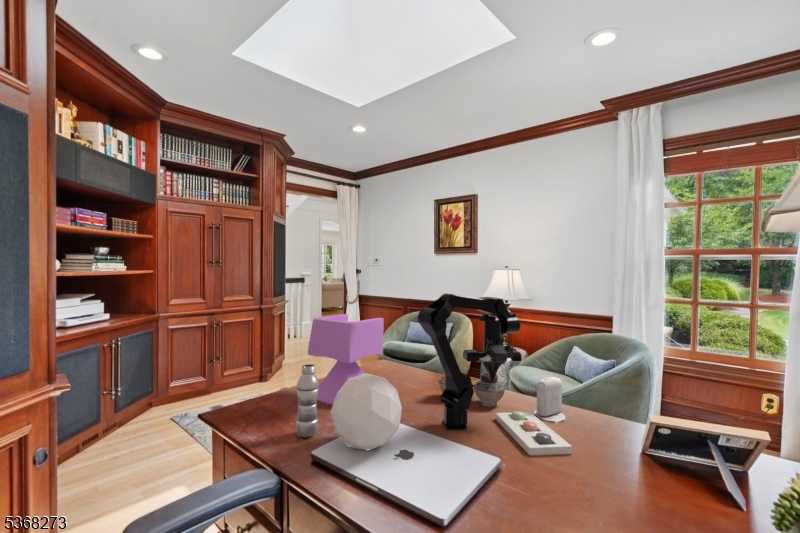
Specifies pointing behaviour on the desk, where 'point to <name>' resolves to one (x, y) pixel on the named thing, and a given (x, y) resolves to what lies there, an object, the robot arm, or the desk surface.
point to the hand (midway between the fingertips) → (491, 381)
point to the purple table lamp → (343, 348)
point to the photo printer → (549, 396)
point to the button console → (533, 435)
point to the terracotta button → (529, 426)
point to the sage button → (518, 416)
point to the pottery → (483, 389)
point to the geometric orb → (366, 411)
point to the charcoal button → (543, 438)
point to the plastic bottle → (307, 402)
